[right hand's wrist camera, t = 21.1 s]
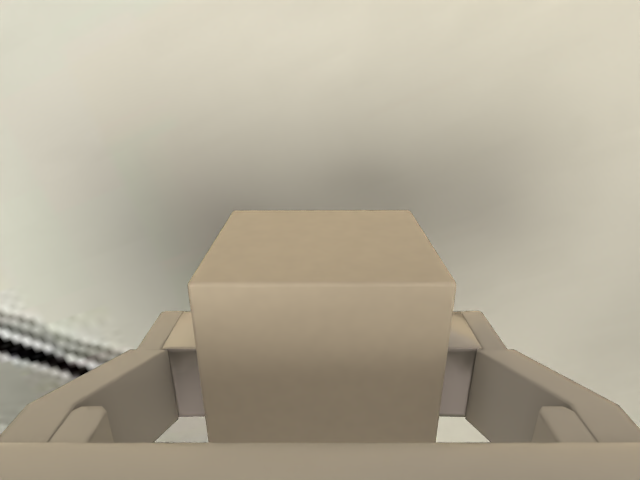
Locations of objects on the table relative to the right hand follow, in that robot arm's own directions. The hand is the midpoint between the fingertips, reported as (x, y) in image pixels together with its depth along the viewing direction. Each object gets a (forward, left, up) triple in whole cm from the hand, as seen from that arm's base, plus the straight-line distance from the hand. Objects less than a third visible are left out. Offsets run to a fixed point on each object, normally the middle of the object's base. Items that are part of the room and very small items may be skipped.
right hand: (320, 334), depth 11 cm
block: (0, 0, -2) cm, 2 cm away
